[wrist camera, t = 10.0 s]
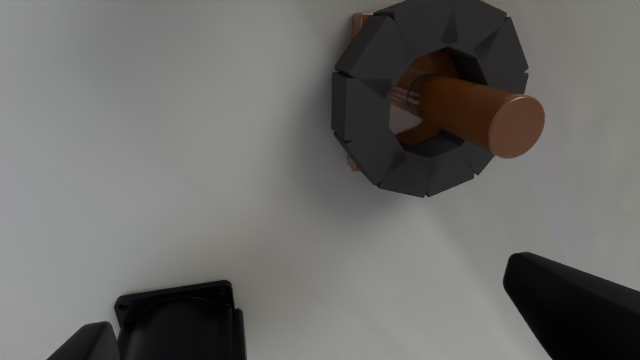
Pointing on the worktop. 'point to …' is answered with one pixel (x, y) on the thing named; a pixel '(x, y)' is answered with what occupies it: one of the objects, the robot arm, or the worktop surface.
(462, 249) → the worktop surface
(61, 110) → the worktop surface
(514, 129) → the copper peg on plate
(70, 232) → the worktop surface
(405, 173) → the rubber ring
